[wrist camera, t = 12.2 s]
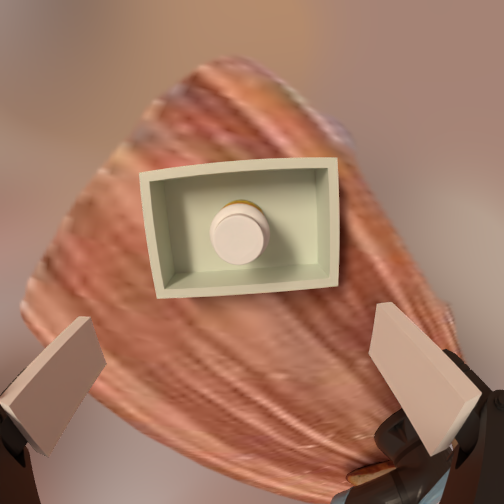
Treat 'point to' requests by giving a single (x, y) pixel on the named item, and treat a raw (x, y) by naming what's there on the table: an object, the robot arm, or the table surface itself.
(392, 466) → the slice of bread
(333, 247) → the bin
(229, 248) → the supplement bottle
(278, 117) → the table surface
